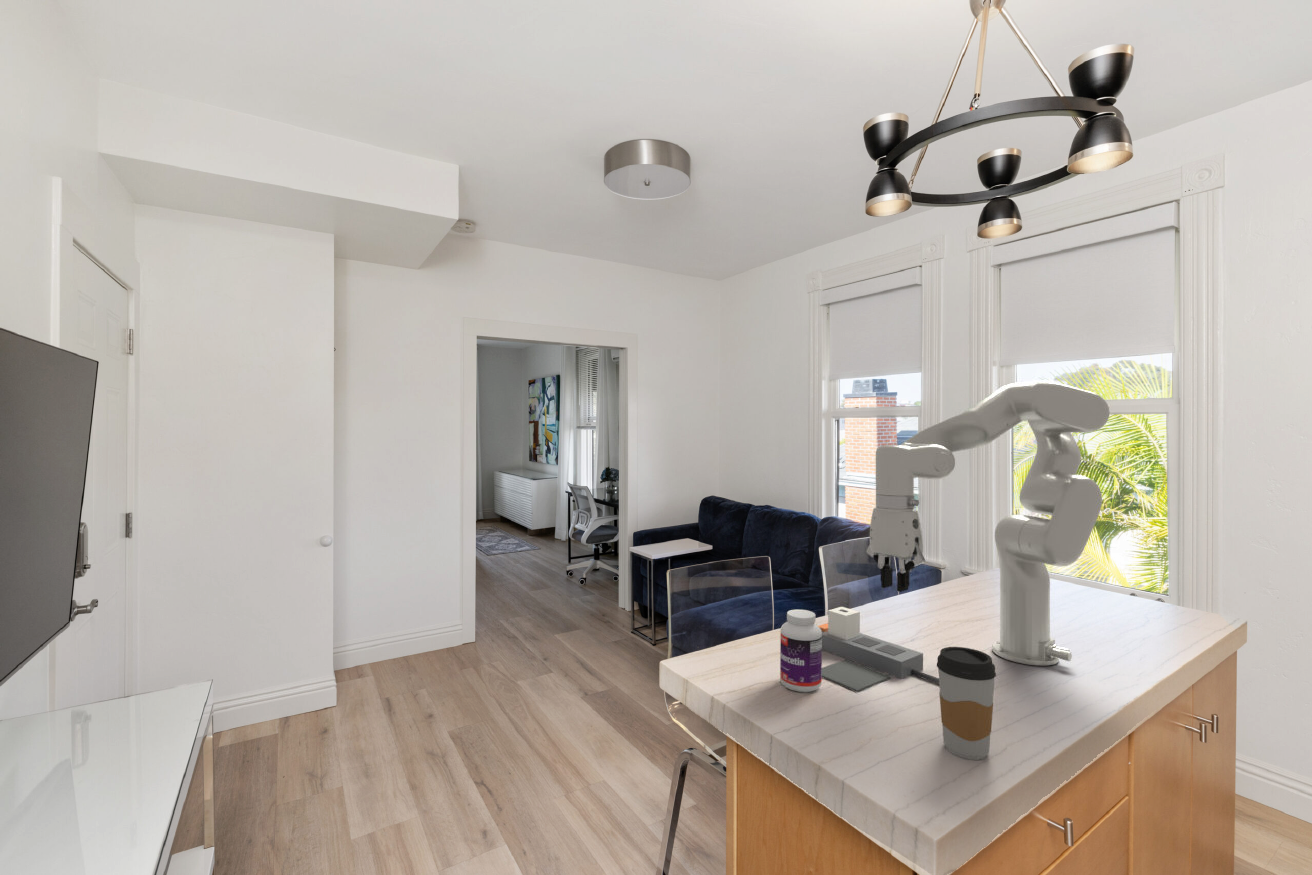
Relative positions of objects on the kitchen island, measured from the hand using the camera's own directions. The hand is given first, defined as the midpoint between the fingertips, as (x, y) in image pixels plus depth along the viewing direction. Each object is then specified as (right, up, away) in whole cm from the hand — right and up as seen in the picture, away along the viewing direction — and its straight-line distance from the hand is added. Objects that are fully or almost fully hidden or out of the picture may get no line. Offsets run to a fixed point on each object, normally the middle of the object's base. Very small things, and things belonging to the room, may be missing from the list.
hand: (894, 587), depth 123 cm
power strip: (-1, -17, +2) cm, 17 cm away
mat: (-11, -17, -4) cm, 21 cm away
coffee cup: (-2, -18, -32) cm, 36 cm away
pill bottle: (-22, -18, -8) cm, 29 cm away
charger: (-7, -14, +11) cm, 19 cm away
